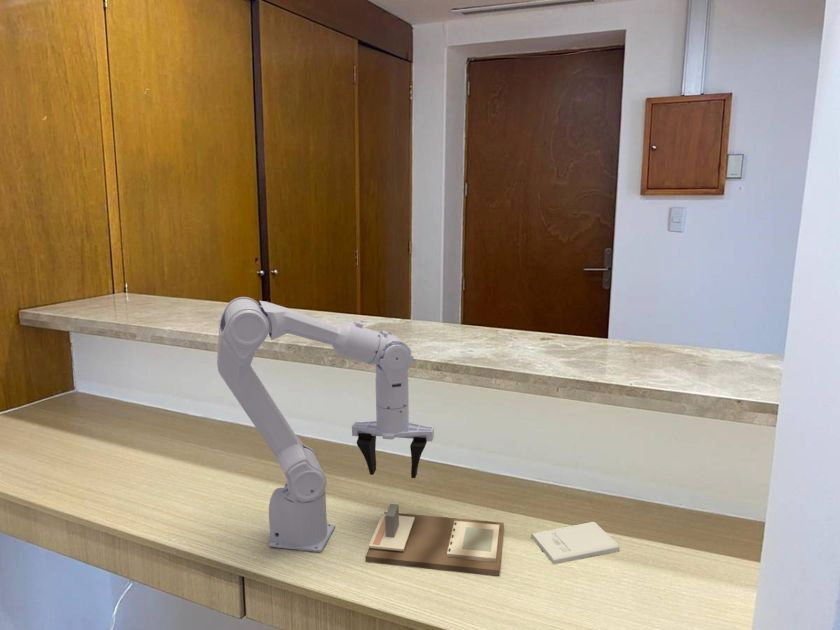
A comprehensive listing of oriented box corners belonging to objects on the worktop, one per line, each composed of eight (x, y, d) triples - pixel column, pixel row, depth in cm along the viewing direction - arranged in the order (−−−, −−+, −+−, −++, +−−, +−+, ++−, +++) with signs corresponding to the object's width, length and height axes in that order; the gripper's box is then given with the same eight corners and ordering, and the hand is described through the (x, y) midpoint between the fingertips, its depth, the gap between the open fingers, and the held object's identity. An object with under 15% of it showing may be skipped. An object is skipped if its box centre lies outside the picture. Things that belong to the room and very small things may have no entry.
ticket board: (365, 561, 105) (365, 552, 105) (384, 516, 119) (384, 507, 118) (499, 575, 101) (499, 565, 101) (503, 527, 115) (503, 518, 114)
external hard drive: (619, 554, 108) (553, 567, 104) (593, 528, 116) (530, 540, 112) (619, 545, 107) (553, 558, 104) (593, 520, 115) (531, 531, 112)
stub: (368, 547, 107) (367, 524, 106) (382, 516, 116) (381, 494, 115) (403, 551, 106) (403, 527, 105) (414, 519, 115) (414, 497, 114)
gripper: (346, 409, 109) (348, 481, 112) (429, 414, 107) (429, 487, 110) (357, 394, 116) (359, 463, 119) (435, 399, 114) (435, 469, 117)
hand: (393, 473), depth 115 cm, fingers open, 7 cm apart
